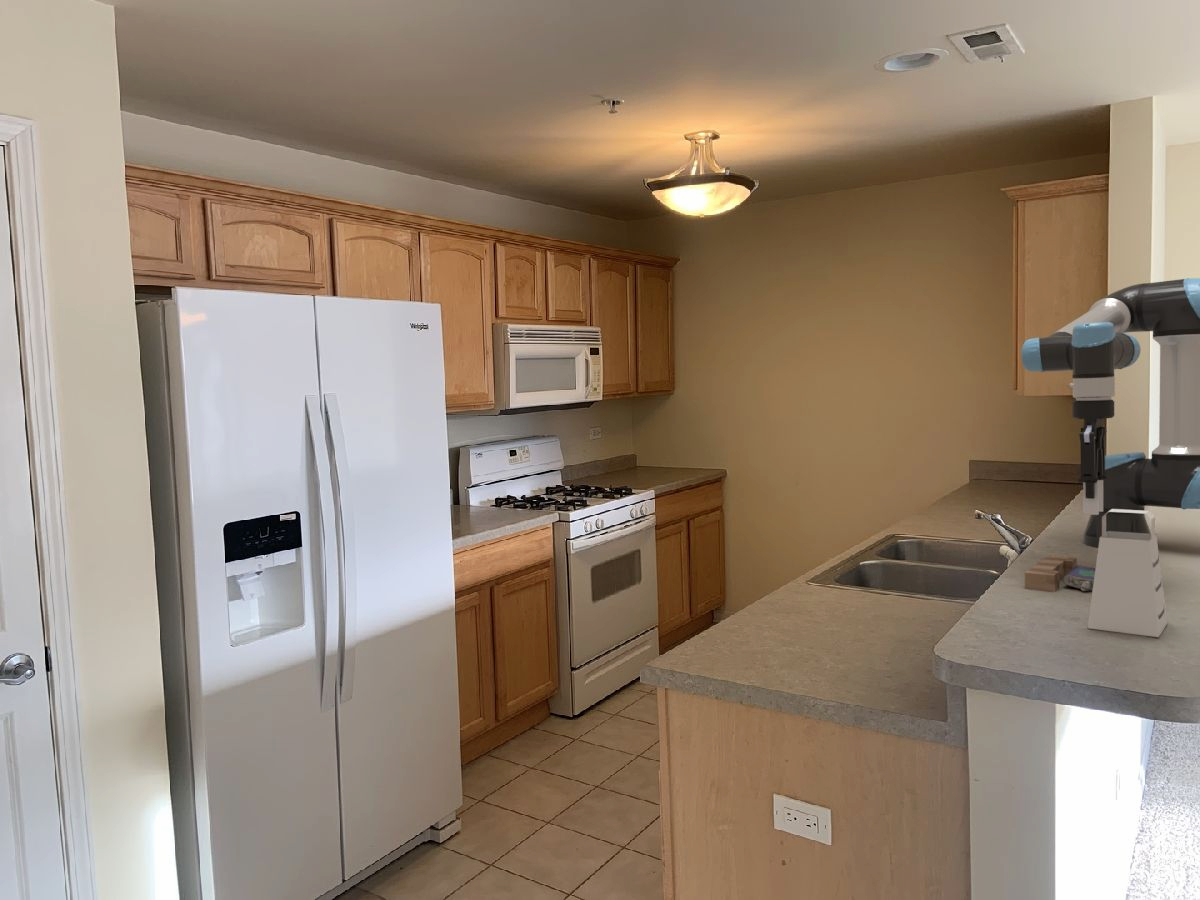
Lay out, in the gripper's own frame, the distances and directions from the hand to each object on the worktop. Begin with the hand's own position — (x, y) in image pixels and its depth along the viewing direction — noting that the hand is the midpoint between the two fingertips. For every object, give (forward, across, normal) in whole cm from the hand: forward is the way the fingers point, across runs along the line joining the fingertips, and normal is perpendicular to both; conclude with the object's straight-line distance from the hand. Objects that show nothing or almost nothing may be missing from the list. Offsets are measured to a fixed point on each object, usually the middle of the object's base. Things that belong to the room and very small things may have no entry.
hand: (1093, 512), depth 183 cm
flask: (+16, -2, 0) cm, 16 cm away
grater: (+15, +30, +11) cm, 35 cm away
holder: (+15, 0, 0) cm, 15 cm away
